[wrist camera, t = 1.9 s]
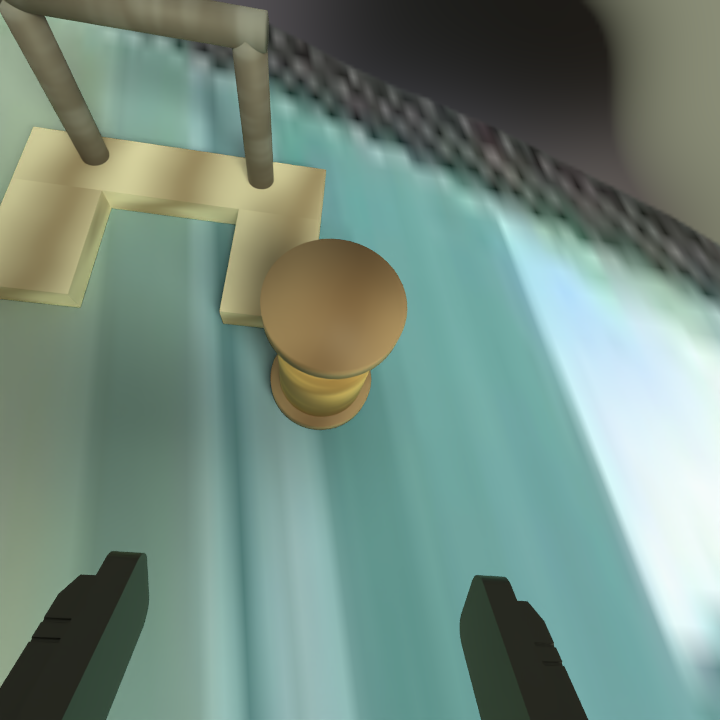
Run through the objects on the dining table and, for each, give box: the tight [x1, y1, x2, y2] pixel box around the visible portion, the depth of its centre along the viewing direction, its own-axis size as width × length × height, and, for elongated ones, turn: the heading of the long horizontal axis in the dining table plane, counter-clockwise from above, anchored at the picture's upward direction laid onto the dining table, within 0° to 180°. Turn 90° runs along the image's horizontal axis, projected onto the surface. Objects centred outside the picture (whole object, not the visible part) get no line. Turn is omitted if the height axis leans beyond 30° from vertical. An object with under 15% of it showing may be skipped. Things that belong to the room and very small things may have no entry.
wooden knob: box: [260, 239, 407, 430], centre depth 22 cm, size 6×6×10 cm
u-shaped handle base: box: [0, 0, 326, 328], centre depth 24 cm, size 18×11×12 cm, turn 87°
